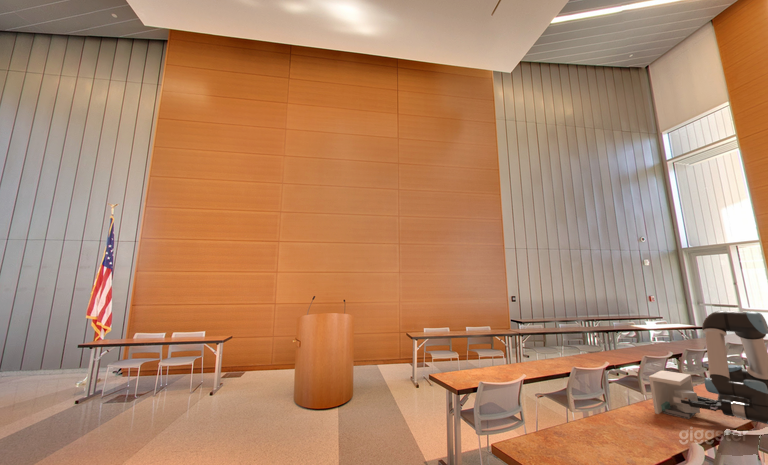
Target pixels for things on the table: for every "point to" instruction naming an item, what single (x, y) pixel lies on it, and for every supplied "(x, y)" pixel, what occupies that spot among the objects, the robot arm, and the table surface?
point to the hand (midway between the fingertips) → (676, 397)
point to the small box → (686, 395)
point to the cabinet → (669, 391)
